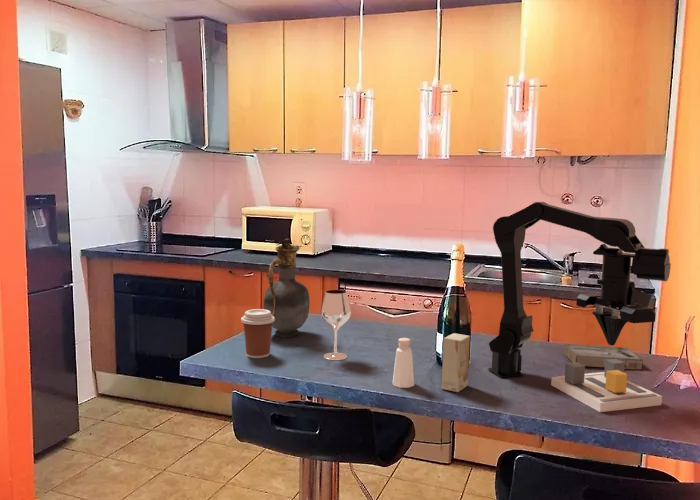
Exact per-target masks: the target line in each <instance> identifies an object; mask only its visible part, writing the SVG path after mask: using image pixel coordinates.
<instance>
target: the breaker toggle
mask: <svg viewBox="0 0 700 500" xmlns="http://www.w3.org/2000/svg"><path fill="white" fill-rule="evenodd" d="M627 381H628V373H626V372H625V371H624V372H621V371H619V370H611V371H606V385H605V388H606V389H608V390H610V391H612V392H614V393H618V392H626V386H627Z"/></svg>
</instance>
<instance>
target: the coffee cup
mask: <svg viewBox="0 0 700 500" xmlns="http://www.w3.org/2000/svg"><path fill="white" fill-rule="evenodd" d="M274 321H275V318H274V316H272V315H271V312H270V311H269V310H265V309H263V308H256V309H255V308H254V309H253V308H252V309H249V310H246V311H245V312H244V315H243V316H242V317H241V318H240V322H241V323H242V324H243V332H244V342H245V343H244V345H245V355H246V357H247V358H251V359H263V358H267V357H269V356H270V355H271V345H272V330H273V327H272V322H274Z"/></svg>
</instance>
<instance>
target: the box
mask: <svg viewBox="0 0 700 500" xmlns="http://www.w3.org/2000/svg"><path fill="white" fill-rule="evenodd" d="M563 354H564V355H565V357H567V359H568V360H569V361H570V363H575V362H577V363H579V364H581V365H583V366H585V367H592V368H593V367H595V368H605V360H609V359H617V360H620V361H622V362H625V368H624V370H627V369H628V370H642V368H643V367H642V365H644V364H643V362H644V360H643V359H642V358H640V357H639V356H638V355H637V354H636V353H634V352H633V351H632V350H631V349H629V348H628V347H623V346H622V347H621V346H603V345H587V344H585V345H584V344H571V343H569V344H567V343H565V344H564V348H563Z"/></svg>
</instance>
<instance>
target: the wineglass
mask: <svg viewBox="0 0 700 500" xmlns="http://www.w3.org/2000/svg"><path fill="white" fill-rule="evenodd" d="M347 292H348V291H346V290H344V289H343V290H342V289H329V290H328V289H327V290H325V291H324V295H323V299H322V302H321V305H320V317H321V318H322V320H323V321H324V322H325V324H326V325H328V326H329V327H330V328H331V329H332V330H333V352H327V353H324V355H323V358H324V359H326V360H327V361H342V360H346V359H347V357H348V356H347V354H345V353H342V352H338V348H337V347H338V340H337V339H338V331H339V329H340V328H341V327H342V326H343V325H345V324H346V322H348V321H349V320H350V319H349V318H350V317H351V315H352V309H351V305H350V300H349V296H348V293H347Z"/></svg>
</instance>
